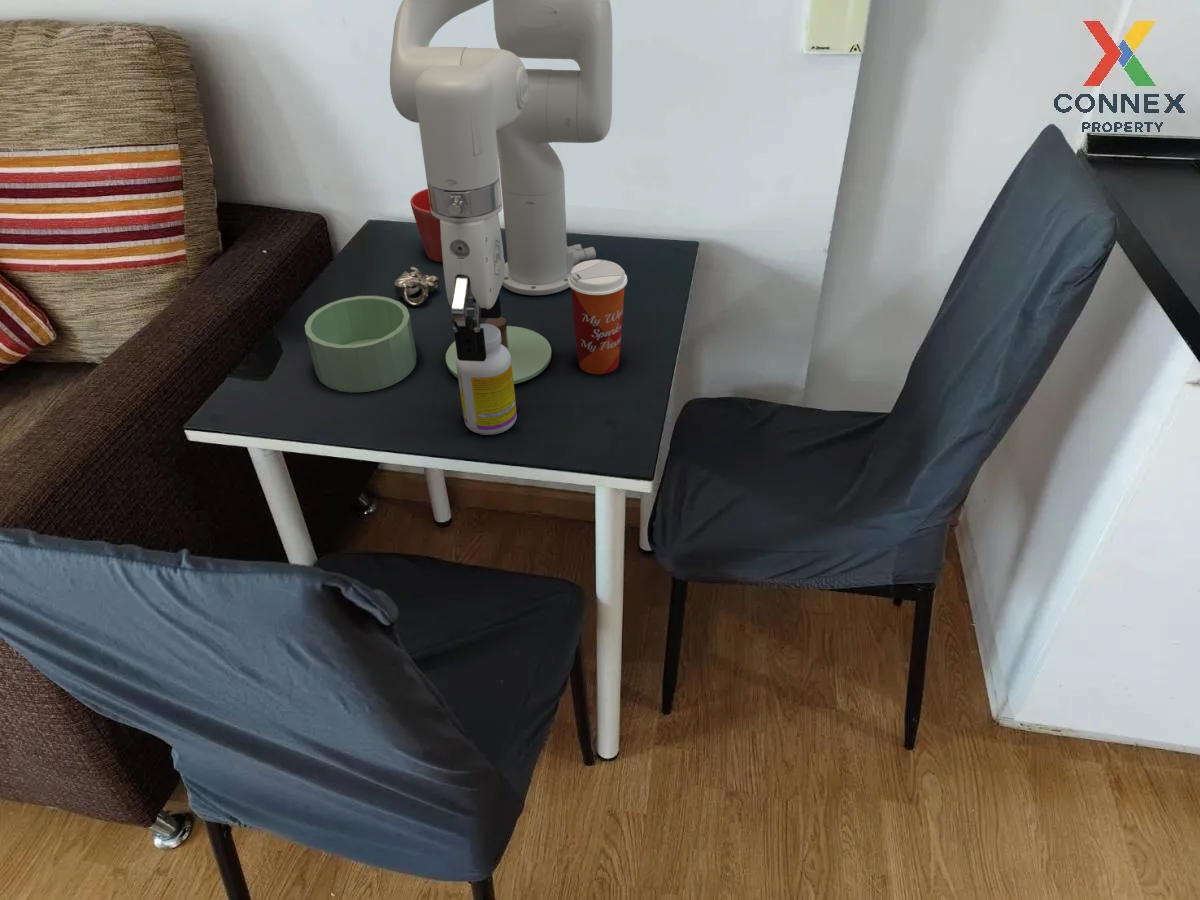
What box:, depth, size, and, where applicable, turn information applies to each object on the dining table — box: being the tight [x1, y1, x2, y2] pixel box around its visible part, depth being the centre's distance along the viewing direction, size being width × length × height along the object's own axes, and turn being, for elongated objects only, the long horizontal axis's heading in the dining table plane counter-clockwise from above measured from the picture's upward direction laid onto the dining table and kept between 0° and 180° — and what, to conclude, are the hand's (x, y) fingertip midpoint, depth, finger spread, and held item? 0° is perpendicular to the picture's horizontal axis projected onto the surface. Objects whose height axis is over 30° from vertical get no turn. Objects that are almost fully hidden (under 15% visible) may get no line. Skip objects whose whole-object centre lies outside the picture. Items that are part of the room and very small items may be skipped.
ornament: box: [394, 266, 440, 307], centre depth 133 cm, size 8×7×4 cm
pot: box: [304, 295, 417, 393], centre depth 117 cm, size 14×14×7 cm
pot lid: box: [445, 316, 552, 385], centre depth 118 cm, size 15×15×6 cm
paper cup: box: [568, 259, 628, 375], centre depth 115 cm, size 8×8×14 cm
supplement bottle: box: [456, 323, 518, 436], centre depth 105 cm, size 7×7×13 cm
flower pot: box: [410, 188, 443, 263], centre depth 143 cm, size 11×11×10 cm
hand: (480, 337), depth 101 cm, fingers open, 9 cm apart
